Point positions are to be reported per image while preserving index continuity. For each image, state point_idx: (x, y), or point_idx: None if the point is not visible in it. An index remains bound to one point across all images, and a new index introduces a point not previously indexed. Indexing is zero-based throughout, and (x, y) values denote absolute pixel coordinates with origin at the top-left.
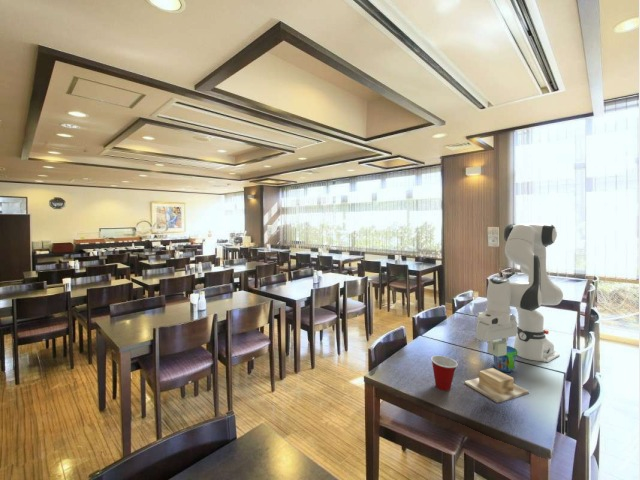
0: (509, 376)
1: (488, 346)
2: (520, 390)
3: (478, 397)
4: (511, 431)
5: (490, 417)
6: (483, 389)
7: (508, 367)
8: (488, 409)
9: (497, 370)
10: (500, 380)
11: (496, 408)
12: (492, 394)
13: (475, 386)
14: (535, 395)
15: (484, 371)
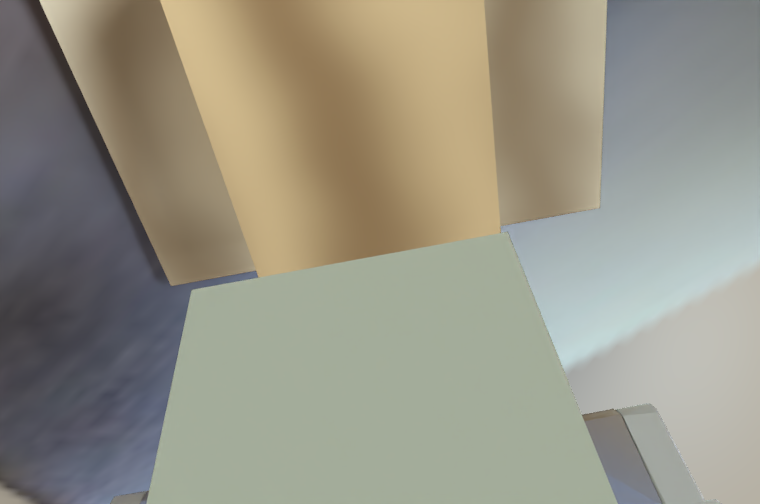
0: (489, 201)
1: (175, 442)
2: (531, 188)
3: (31, 173)
4: (75, 493)
5: (3, 396)
6: (140, 104)
7: None
8: (37, 327)
9: (477, 21)
10: (291, 262)
11: (116, 325)
12: (184, 203)
13: (71, 25)
14: (615, 228)
15: (234, 10)
